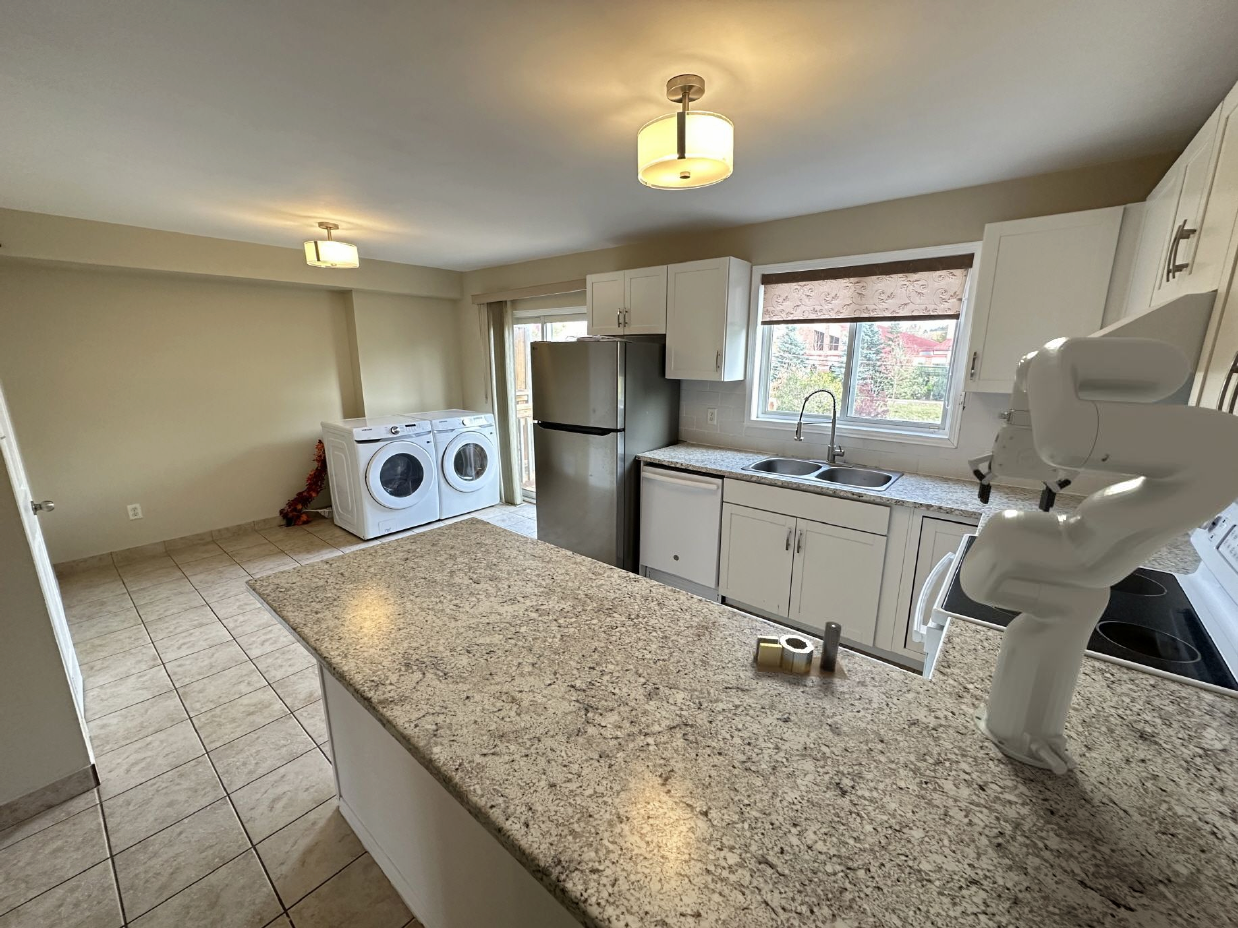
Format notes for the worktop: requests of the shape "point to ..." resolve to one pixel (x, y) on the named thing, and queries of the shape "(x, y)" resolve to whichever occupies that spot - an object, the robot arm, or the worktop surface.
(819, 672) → the base board
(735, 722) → the worktop surface
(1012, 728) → the robot arm
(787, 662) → the hinge
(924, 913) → the worktop surface
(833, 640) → the hinge pin
